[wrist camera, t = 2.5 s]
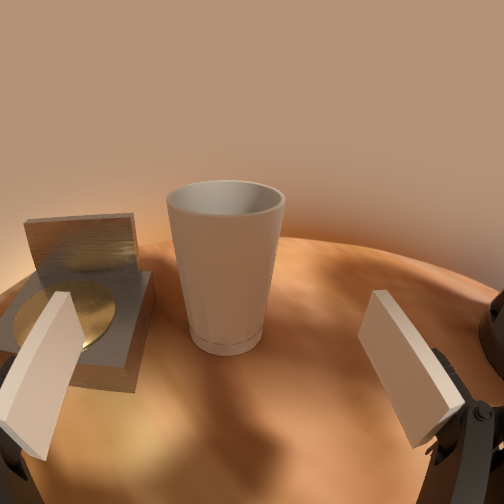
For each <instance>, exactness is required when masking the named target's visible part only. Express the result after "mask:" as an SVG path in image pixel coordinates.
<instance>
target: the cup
mask: <svg viewBox="0 0 504 504" xmlns="http://www.w3.org/2000/svg"><path fill="white" fill-rule="evenodd" d="M166 201H167V207H168V214H169V220H170V226H171V232H172V237H173V243H174V249H175V255H176V260H177V266H178V271H179V277H180V282H181V287H182V292H183V297H184V302H185V307H186V312H187V316H188V321H189V327H190V335H191V338H192V340H193V342H194V343H195V344H196V345H197V346H198V347H199V348H200V349H202V350H204V351H205V352H208V353H210V354H214V355H218V356H234V355H239V354H242V353H245V352H247V351H249V350H251V349H252V348H254V347H255V346H256V345H257V344H258V343H259V341H260V339H261V337H262V332H263V322H264V317H265V311H266V306H267V301H268V295H269V290H270V284H271V279H272V273H273V268H274V262H275V256H276V251H277V245H278V240H279V234H280V229H281V224H282V218H283V213H284V207H285V201H286V198H285V196H284V195H283V194H282V193H281V192H280V191H278V190H277V189H274V188H272V187H269V186H266V185H263V184H259V183H254V182H247V181H237V180H214V181H204V182H197V183H192V184H188V185H184V186H182V187H179V188H177V189H175V190H173V191H172V192H170V193H169V194H168V196H167V198H166Z"/></svg>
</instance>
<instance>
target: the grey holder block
mask: <svg viewBox="0 0 504 504" xmlns="http://www.w3.org/2000/svg"><path fill="white" fill-rule="evenodd" d="M24 228H25V232H26V236H27V240H28V243H29V247H30V251H31V254H32V258H33V260H34V264H35V267H36V270H37V271H35V272H34V274H33V275H32V276H31V277H30V279H29V280H28V281H27V282H26V284H25V285H24V286H23V288H22V289H21V290H20V292H19V293H18V294H17V296H16V297H15V298H14V300H13V301H12V302H11V304H10V305H9V306H8V308H7V309H6V311H5V312H4V314H3V315H2V316H1V318H0V369H1V367H2V365H3V363H4V362H5V361H7V360H8V359H9V358H10V357H11V356H12V355H13V356H17V355H18V353H19V351H20V349H21V347H22V346H23V344H24V342H25V340H26V339H27V337H28V335H29V333H30V332H31V330H32V328H33V326H34V325H35V323H36V321H37V320H38V318H39V317H40V315H41V313H42V312H43V310H44V309H45V307H46V305H47V304H48V302H49V301H50V299H51V298H52V296H53V295H54V293H55V292H56V291H59V292H70V295H71V298H72V301H73V304H74V307H75V310H76V313H77V316H78V319H79V322H80V324H81V327H82V330H83V333H84V335H85V338H86V341H85V343H84V345H83V348H82V350H81V353H80V356H79V358H78V361H77V363H76V366H75V369H74V371H73V374H72V377H71V379H70V382H69V385H70V386H77V387H83V388H91V389H99V390H107V391H117V392H128V393H135V389H136V384H137V378H138V373H139V368H140V363H141V358H142V353H143V349H144V344H145V339H146V335H147V330H148V326H149V322H150V318H151V313H152V309H153V305H154V301H155V297H156V294H155V288H154V282H153V276H152V271H142V270H141V264H140V258H139V251H138V244H137V237H136V229H135V221H134V214H133V213H122V214H103V215H84V216H68V217H54V218H42V219H29V220H27V221H26V222H25V223H24Z"/></svg>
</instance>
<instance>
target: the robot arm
mask: <svg viewBox="0 0 504 504" xmlns="http://www.w3.org/2000/svg"><path fill="white" fill-rule="evenodd" d="M479 334H480V340H481V343H482V346H483V349H484V351H485V353H486V355H487V357H488V358H489V360H490V362H491V363H492V365H493V366H494V367H495V369H496V370H497V371H498V372H499V374H500V375H501V376H502V377H503V378H504V288H503V290H502V291H501V292H500V293H499V294H498V295H497V296H496V297H495V298H494V299H493V301H492V302H491V303H490V305H489V306H488V308H487V310H486V312H485V314H484V316H483V318H482V320H481V322H480V326H479ZM357 337H358V339H359V341H360V343H361V344H362V346H363V348H364V350H365V352H366V354H367V356H368V358H369V360H370V362H371V364H372V366H373V368H374V370H375V372H376V374H377V376H378V378H379V380H380V382H381V384H382V386H383V388H384V390H385V392H386V394H387V396H388V398H389V400H390V402H391V404H392V406H393V408H394V410H395V412H396V414H397V417H398V419H399V421H400V423H401V425H402V427H403V429H404V432H405V434H406V436H407V438H408V440H409V443H410V445H411V447H412V449H413V448H416V447H418V446H421V445H423V444H426V443H428V442H429V441H430V440H431V439H432V438H433V437H434V436H435V435H436V437H437V439H438V440H437V441H436V442H435V443H434V444H433V445H432V446H431V447H430V448H429V449H427V451H426V453H425V455H427V454H429V453H430V452H431V451H432V450H433V452H432V454H431V455H430V456H431V459H430V463H429V466H428V469H427V473H426V476H425V479H424V482H423V485H422V488H421V491H420V494H419V497H418V499H417V502H416V504H504V448H503V449H502V450H500V449H499V445H500V444H501V443H502V442H504V406H501V407H490V406H489V405H488V404H487V403H485V402H483V401H475V400H474V399H473V398H472V396H471V394H470V393H469V391H468V390H467V388H466V387H465V385H464V384H463V382H462V381H461V379H460V378H459V376H458V375H457V374H456V373H455V370H454V369H453V367H452V366H451V364H450V363H449V361H448V360H447V358H446V357H445V356H444V355H443V354H442V353H441V352H439V351H438V350H437V349H436V348H433V349H430V348H429V346H428V345H427V343H426V342H425V341H424V339H423V338H422V336H421V335H420V334H419V332H418V331H417V329H416V328H415V327H414V325H413V324H412V322H411V321H410V320H409V318H408V317H407V316H406V314H405V313H404V312H403V310H402V309H401V308H400V306H399V305H398V304H397V302H396V301H395V300H394V298H393V297H392V296H391V295H390V293H389V292H388V291H387V290H373V291H372V294H371V297H370V300H369V303H368V306H367V309H366V312H365V315H364V318H363V321H362V324H361V327H360V329H359V332H358V335H357ZM85 341H86V338H85V335H84V333H83V330H82V327H81V324H80V322H79V319H78V316H77V313H76V310H75V307H74V304H73V301H72V298H71V295H70V292H59V291H56V292H55V293H54V295H53V296H52V298H51V299H50V301H49V302H48V304H47V305H46V307H45V309H44V310H43V312H42V313H41V315H40V317H39V318H38V320H37V321H36V323H35V325H34V326H33V328H32V330H31V332H30V333H29V335H28V337H27V339H26V340H25V342H24V344H23V346H22V347H21V349H20V351H19V353H18V355H17V356H13V355H12V356H11V357H10V358H9V359H8V360H7V361H5V362H4V363H3V365H2V367H1V369H0V504H45V503H44V501H43V499H42V498H41V496H40V494H39V492H38V490H37V487H36V485H35V483H34V481H33V479H32V477H31V474H30V472H29V470H28V468H27V465H26V463H25V460H24V458H23V457H22V455H21V450H22V449H23V450H24V451H25V452H26V453H27V454H29V455H30V456H32V457H35V458H38V459H41V460H44V461H46V458H47V454H48V450H49V446H50V443H51V439H52V435H53V432H54V428H55V425H56V422H57V418H58V415H59V412H60V409H61V406H62V403H63V400H64V397H65V394H66V391H67V388H68V385H69V382H70V379H71V377H72V374H73V371H74V369H75V366H76V363H77V361H78V358H79V356H80V353H81V350H82V348H83V345H84V343H85Z"/></svg>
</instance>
